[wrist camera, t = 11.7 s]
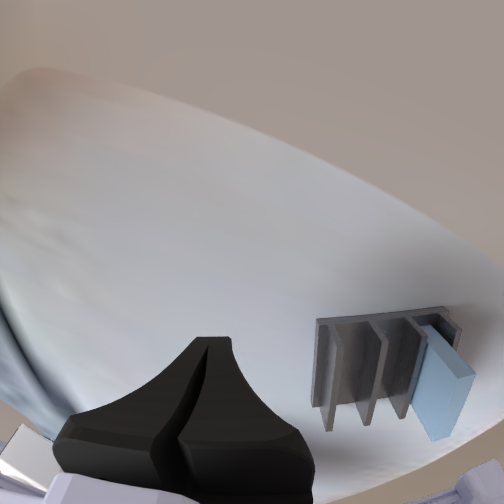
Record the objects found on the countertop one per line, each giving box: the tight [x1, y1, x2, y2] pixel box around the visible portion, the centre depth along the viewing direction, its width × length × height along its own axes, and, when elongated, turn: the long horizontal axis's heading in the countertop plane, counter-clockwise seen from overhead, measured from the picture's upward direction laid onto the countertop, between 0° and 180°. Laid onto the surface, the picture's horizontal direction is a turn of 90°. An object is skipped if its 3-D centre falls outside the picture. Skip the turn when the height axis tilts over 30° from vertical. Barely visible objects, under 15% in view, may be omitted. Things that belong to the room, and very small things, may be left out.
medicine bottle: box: [0, 424, 64, 492], centre depth 23 cm, size 7×7×12 cm
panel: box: [410, 325, 476, 442], centre depth 20 cm, size 6×2×7 cm, turn 2°
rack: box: [311, 306, 462, 432], centre depth 22 cm, size 8×11×4 cm
